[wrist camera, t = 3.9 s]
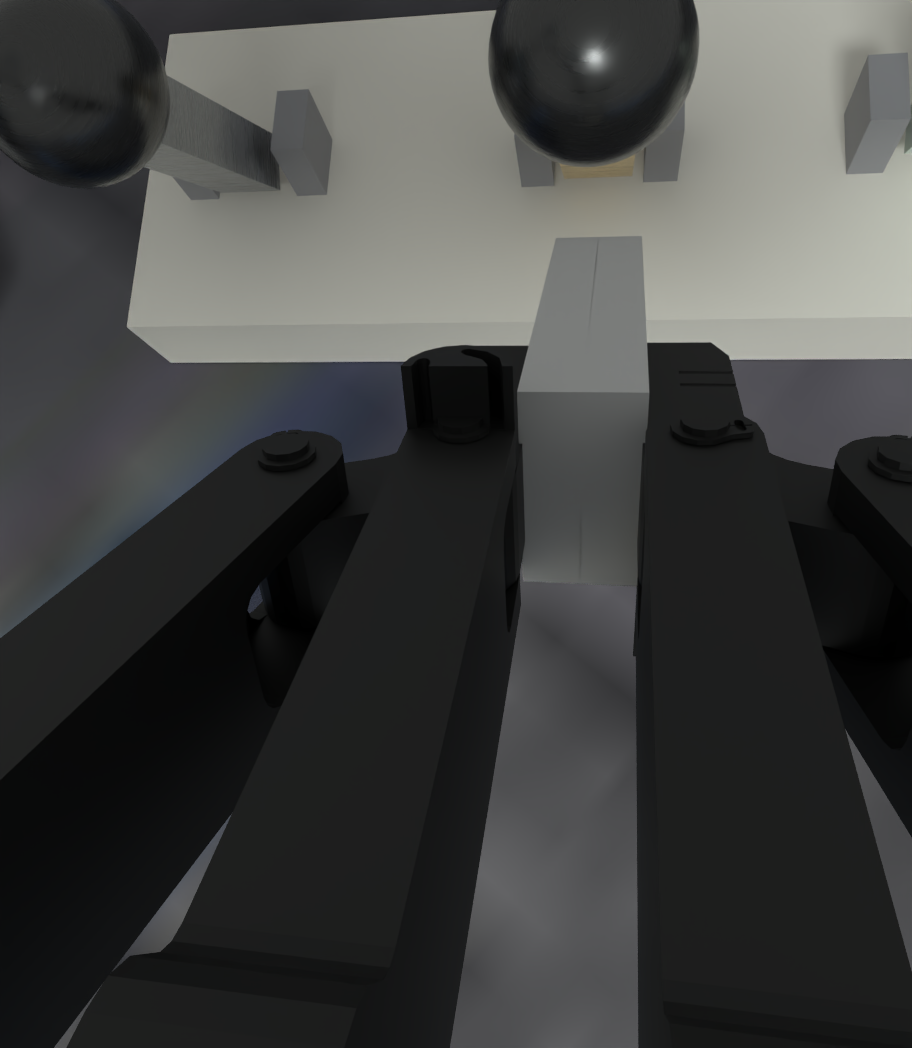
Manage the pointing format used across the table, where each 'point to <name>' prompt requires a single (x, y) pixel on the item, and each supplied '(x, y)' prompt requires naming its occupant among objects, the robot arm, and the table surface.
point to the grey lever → (113, 105)
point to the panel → (539, 195)
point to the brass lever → (592, 76)
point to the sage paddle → (908, 137)
